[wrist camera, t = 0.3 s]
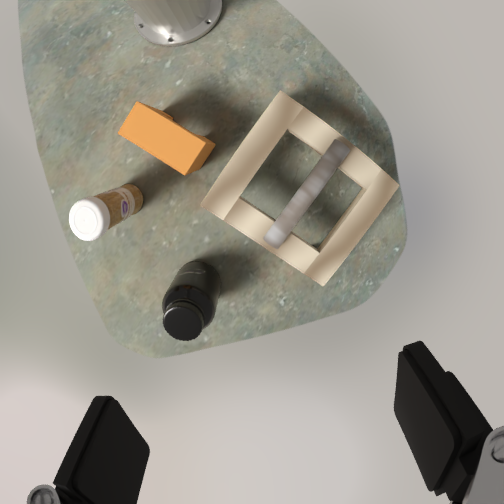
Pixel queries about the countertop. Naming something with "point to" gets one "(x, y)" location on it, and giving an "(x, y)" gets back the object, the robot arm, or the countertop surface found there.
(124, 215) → the sprinkles bottle
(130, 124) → the orange block
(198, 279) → the supplement bottle
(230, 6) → the countertop surface
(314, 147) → the wooden frame stool
